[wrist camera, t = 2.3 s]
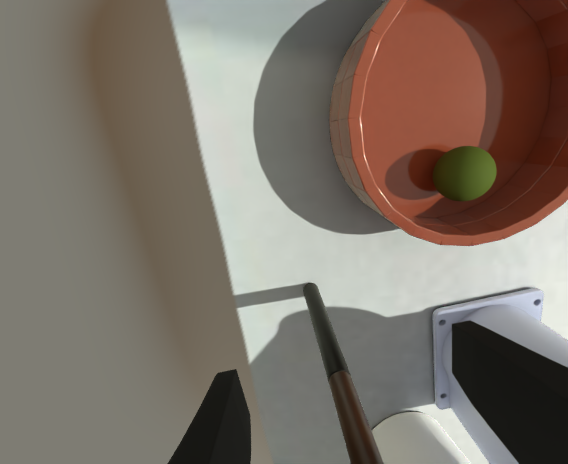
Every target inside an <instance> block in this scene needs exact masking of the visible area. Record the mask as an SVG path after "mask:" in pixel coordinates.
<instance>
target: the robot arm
mask: <svg viewBox="0 0 568 464" xmlns="http://www.w3.org/2000/svg"><path fill="white" fill-rule="evenodd" d="M543 298H544V292H543V291H542V290H540V289H538V288H532V289H527V290H522V291H517V292H513V293H508V294H503V295H499V296H494V297H489V298H485V299H480V300H475V301H470V302H466V303H461V304H456V305H452V306H447V307H442V308H438V309H436V310H435V311H434V312H433V347H434V381H435V404H436V406H437V407H438V408H439V409H447V408H451V409H452V410H453V412H454V413H455V415H456V416H457V417H458V419H459V420H460V422H461V423H462V425H463V426H464V428H465V429H466V430H467V432H468V433H469V435H470V436H471V438H472V439H473V440H474V442H475V443H476V445H477V446H478V448H479V449H480V451H481V452H482V453H483V455H484V456H485V458H486V459H487V461H488V462H489V463H490V464H568V340H567V339H565V338H564V337H562V336H561V335H559V334H558V333H556V332H555V331H553V330H552V329H550V328H549V327H547V326H546V325H545V324H543V323H542V322H541V316H542V307H543ZM440 320H442V321H441V322H439V321H440ZM250 461H251V425H250V413H249V410H248V407H247V403H246V400H245V397H244V393H243V390H242V387H241V384H240V380H239V377H238V374H237V371H236V369H235V370H230V371H225V372H220V373H218V374H217V375H216V376H215V378H214V380H213V382H212V384H211V386H210V388H209V390H208V392H207V394H206V396H205V398H204V400H203V402H202V404H201V406H200V408H199V410H198V412H197V414H196V415H195V417H194V419H193V421H192V423H191V424H190V426H189V428H188V430H187V432H186V434H185V435H184V437H183V439H182V441H181V442H180V444H179V446H178V448H177V449H176V451H175V452H174V454H173V456H172V457H171V459H170V461H169V462H168V464H250Z"/></svg>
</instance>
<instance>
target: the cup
mask: <svg viewBox="0 0 568 464" xmlns="http://www.w3.org/2000/svg"><path fill="white" fill-rule="evenodd" d="M372 434H373V436H374V439H375V442H376V444H377V447H378V450H379V452H380V455H381V457H382V460H383V463H384V464H471V462H470V461H469V460H468V459H467V457H466V456H465V455H464V454H463V452H462V451H461V450H460V449H459V448H458V446H457V445H456V444H455V443H454V441H453V440H452V439H451V438H450V436H449V435H448V434H447V433H446V431H445V430H444V429H443V428H442V427H441V425H440V424H439V423H438V422H437V421H436V419H434V418H433V417H431V416H430V415H427V414H425V413H420V412H405V413H400V414H396V415H393V416H391V417H389V418H387V419H385V420H384V421H382V422H381V423H379V424H378V425H377V426H376V427H375V428H374V429H373V431H372Z"/></svg>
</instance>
